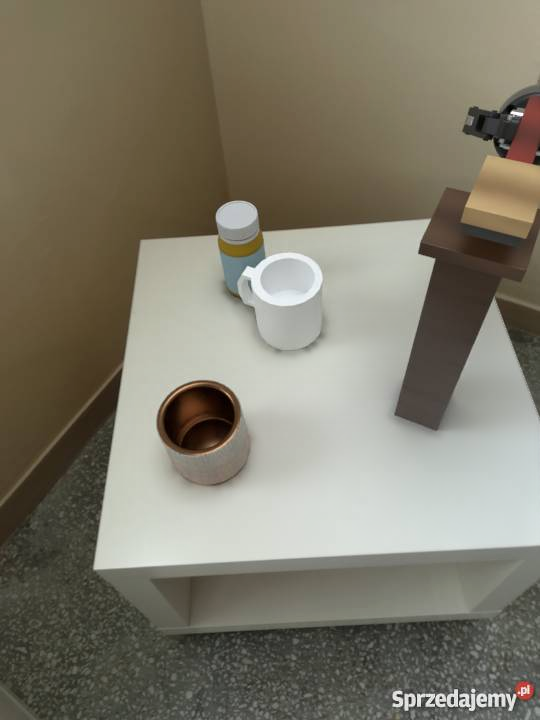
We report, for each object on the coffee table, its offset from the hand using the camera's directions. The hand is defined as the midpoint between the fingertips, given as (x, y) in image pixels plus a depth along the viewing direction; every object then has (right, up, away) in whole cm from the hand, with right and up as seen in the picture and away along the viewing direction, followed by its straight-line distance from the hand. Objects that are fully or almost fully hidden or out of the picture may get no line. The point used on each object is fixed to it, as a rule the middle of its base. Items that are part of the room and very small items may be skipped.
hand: (528, 135), depth 46 cm
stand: (-1, -26, +29) cm, 39 cm away
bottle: (-26, -7, +44) cm, 51 cm away
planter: (-30, -32, +27) cm, 52 cm away
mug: (-20, -13, +39) cm, 46 cm away
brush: (-1, -3, +1) cm, 3 cm away
